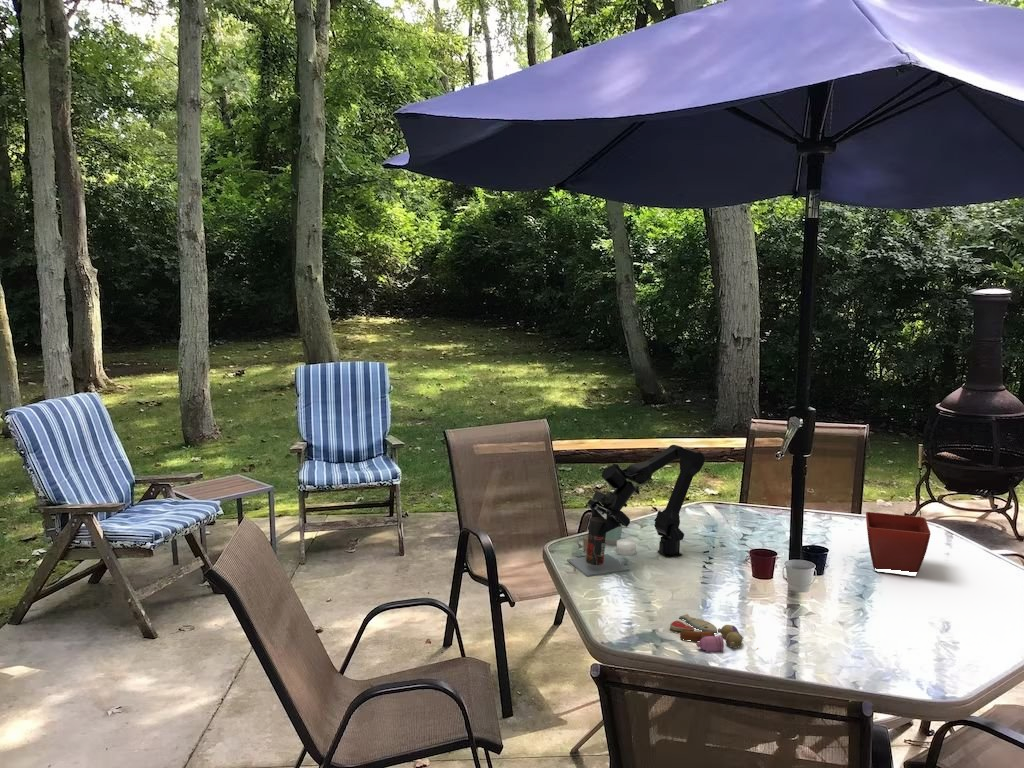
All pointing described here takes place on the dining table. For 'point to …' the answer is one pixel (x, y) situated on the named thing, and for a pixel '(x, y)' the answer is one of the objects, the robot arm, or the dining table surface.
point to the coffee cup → (612, 534)
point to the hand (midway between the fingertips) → (593, 532)
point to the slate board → (598, 566)
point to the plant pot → (897, 541)
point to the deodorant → (595, 542)
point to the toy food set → (706, 633)
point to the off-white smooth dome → (626, 547)
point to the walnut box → (585, 543)
